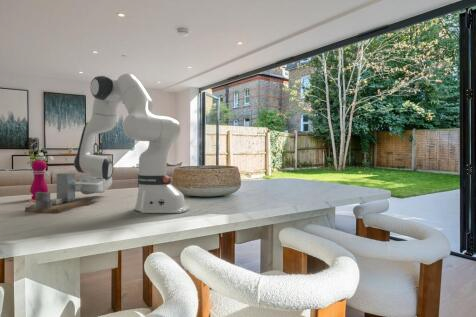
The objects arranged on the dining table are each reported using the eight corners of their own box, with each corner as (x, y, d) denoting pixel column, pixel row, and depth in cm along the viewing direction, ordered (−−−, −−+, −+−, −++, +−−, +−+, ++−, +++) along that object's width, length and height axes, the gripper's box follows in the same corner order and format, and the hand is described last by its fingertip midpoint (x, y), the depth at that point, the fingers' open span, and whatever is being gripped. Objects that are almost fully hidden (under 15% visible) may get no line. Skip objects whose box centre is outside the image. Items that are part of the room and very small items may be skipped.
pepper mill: (39, 201, 151) (39, 157, 150) (26, 200, 152) (26, 157, 152) (51, 198, 158) (51, 156, 157) (38, 197, 160) (38, 156, 159)
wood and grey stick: (51, 206, 130) (51, 199, 130) (49, 206, 129) (49, 200, 128) (31, 205, 131) (31, 199, 131) (28, 205, 130) (28, 199, 130)
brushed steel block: (75, 200, 143) (75, 173, 142) (59, 204, 133) (59, 175, 132) (64, 200, 144) (64, 172, 143) (48, 204, 134) (48, 174, 133)
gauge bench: (91, 203, 147) (91, 186, 147) (58, 213, 126) (58, 193, 125) (62, 202, 149) (62, 185, 149) (25, 211, 128) (25, 192, 127)
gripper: (68, 177, 158) (47, 180, 144) (108, 178, 155) (91, 182, 142) (68, 190, 158) (48, 194, 145) (108, 192, 156) (91, 196, 142)
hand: (69, 188), depth 143 cm, fingers closed, pressing on brushed steel block
